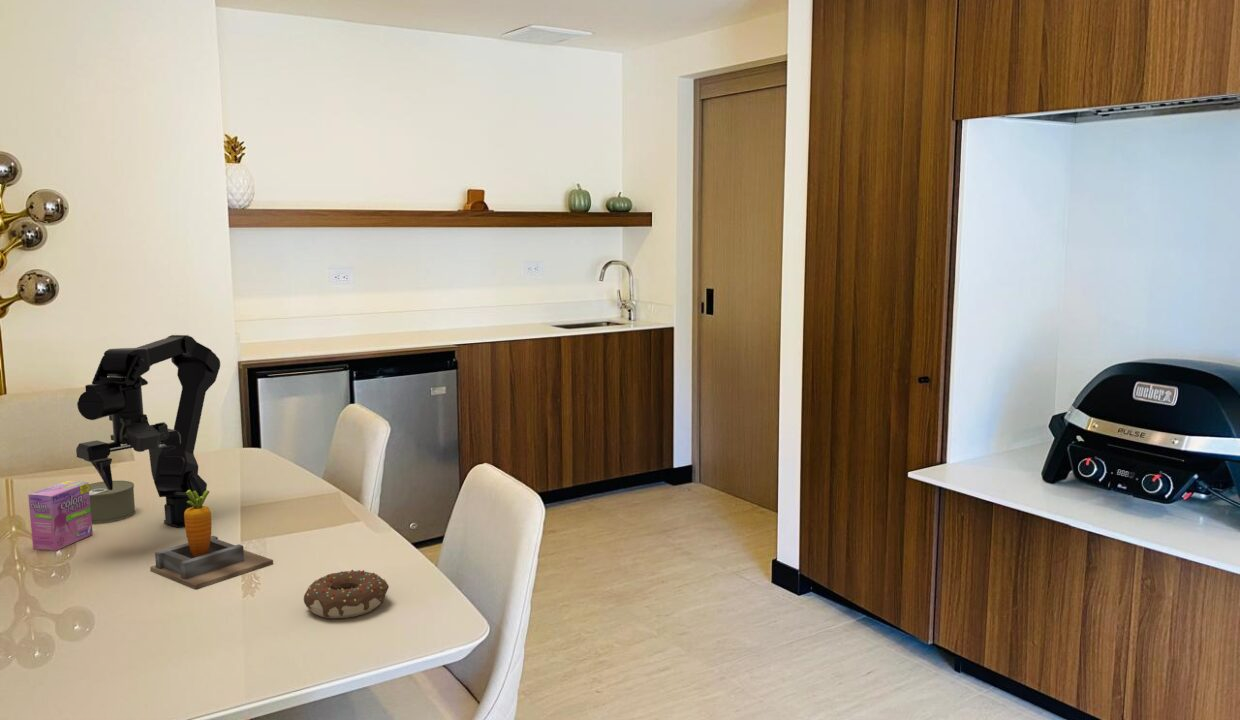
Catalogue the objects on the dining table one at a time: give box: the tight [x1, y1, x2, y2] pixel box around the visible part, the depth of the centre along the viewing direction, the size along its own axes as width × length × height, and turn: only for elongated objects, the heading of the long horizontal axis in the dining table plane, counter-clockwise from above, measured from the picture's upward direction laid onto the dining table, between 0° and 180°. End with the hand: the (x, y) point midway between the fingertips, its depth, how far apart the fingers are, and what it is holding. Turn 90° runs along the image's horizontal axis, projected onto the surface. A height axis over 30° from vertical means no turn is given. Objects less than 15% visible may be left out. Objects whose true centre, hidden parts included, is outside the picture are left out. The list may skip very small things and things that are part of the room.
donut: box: [303, 569, 390, 619], centre depth 163 cm, size 14×14×5 cm
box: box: [27, 480, 94, 552], centre depth 196 cm, size 10×6×12 cm, turn 168°
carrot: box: [184, 489, 212, 558], centre depth 180 cm, size 5×5×15 cm
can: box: [89, 480, 136, 525], centre depth 214 cm, size 12×12×7 cm
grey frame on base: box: [149, 535, 274, 590], centre depth 182 cm, size 16×16×4 cm
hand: (133, 484), depth 193 cm, fingers open, 9 cm apart
